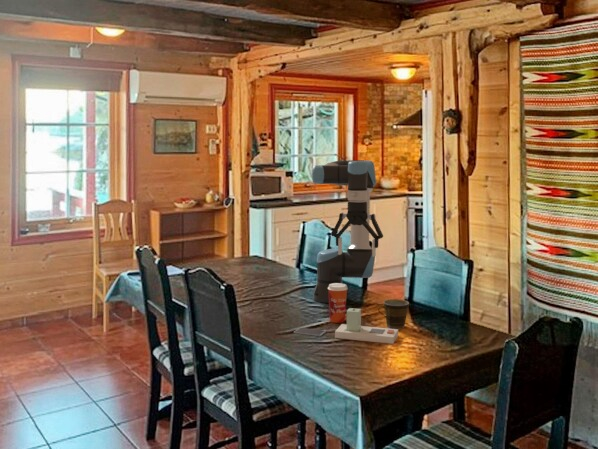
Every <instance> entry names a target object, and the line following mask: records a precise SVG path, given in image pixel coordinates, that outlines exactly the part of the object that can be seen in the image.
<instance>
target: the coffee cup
mask: <svg viewBox="0 0 598 449" xmlns="http://www.w3.org/2000/svg"><path fill="white" fill-rule="evenodd" d="M348 289H349V288H348V286H347V284H345V283H343V282H342V283H333V284H329V287H328V291H329V303H328V308H329V321H330V322H331V323H336V324H340V323H341V324H343V323H345V321H346V312H347V308H346V307H347V293H348Z"/></svg>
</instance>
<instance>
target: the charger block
mask: <svg viewBox="0 0 598 449" xmlns="http://www.w3.org/2000/svg"><path fill="white" fill-rule="evenodd" d="M346 324H347V331H353V332H360V331H361V326H362V309H361V308H352V307H349V308H348V309H346Z"/></svg>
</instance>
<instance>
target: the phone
mask: <svg viewBox="0 0 598 449" xmlns="http://www.w3.org/2000/svg"><path fill="white" fill-rule="evenodd" d="M326 332H327V331H326V330H321V329H314V328H306V327H305V328H304V327H299V328H297V329H295V331H293V334H300V335H306V336H314V337H315V336H316V337H321V336H323V335H324V334H326Z"/></svg>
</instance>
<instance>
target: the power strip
mask: <svg viewBox="0 0 598 449" xmlns="http://www.w3.org/2000/svg"><path fill="white" fill-rule="evenodd" d="M398 337H399V329H390V328H388V327H377V326H367V325H366V326H365V325H361V331H360V332H353V331H347V323H341V324H340V325H339V327H338V328H337V329H335V331H334V339H343V340H351V341H362V342H371V343H372V342H373V343H382V344H393V345H394V344H395V342H396V340H397V338H398Z"/></svg>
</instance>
